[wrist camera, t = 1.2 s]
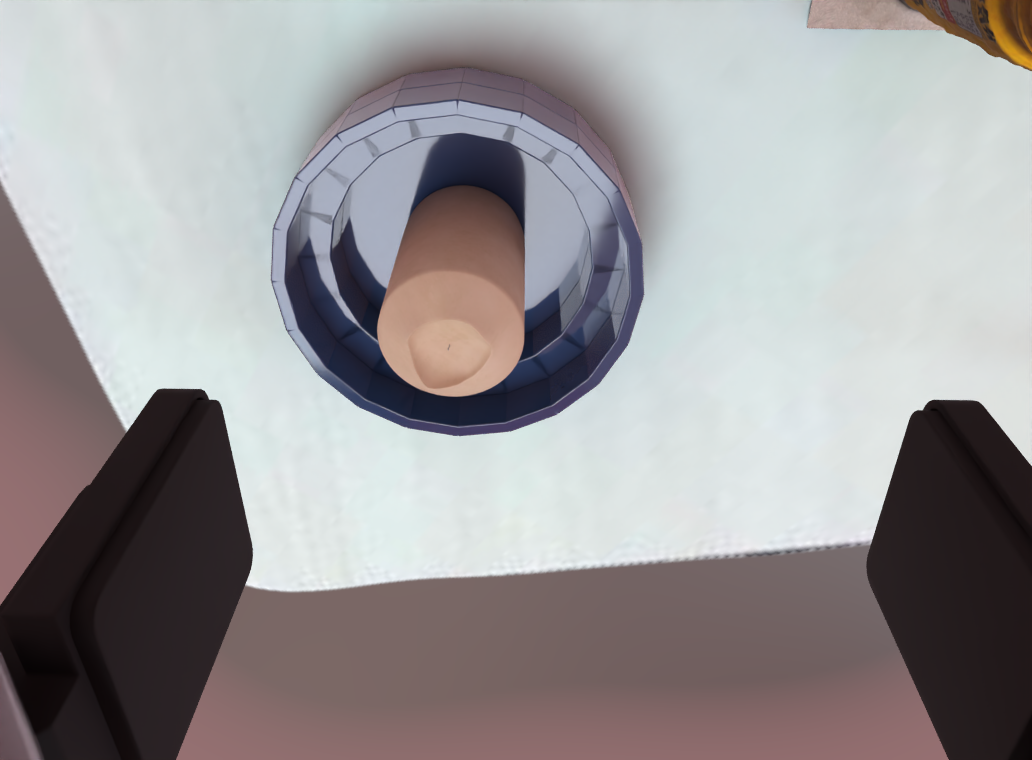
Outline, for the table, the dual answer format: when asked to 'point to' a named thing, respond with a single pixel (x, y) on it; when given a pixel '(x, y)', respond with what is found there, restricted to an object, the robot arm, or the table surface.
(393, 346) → the candle
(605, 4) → the table surface
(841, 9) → the condiment
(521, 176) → the basin
